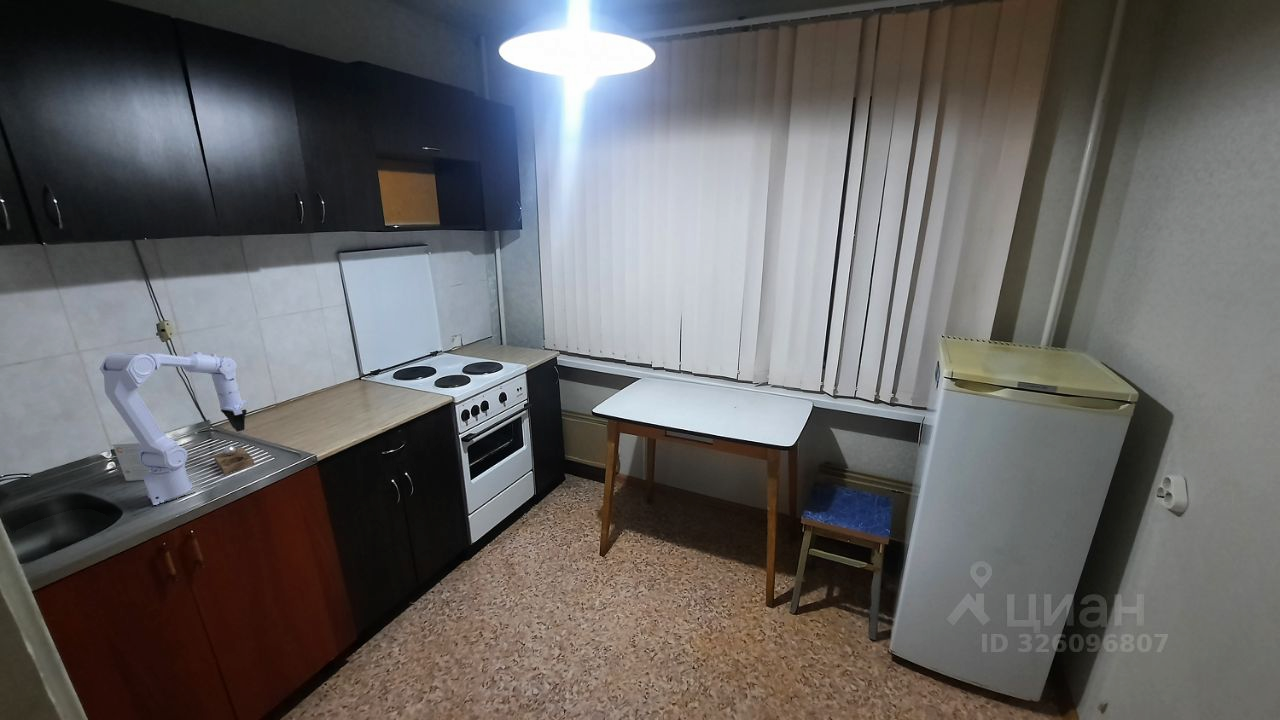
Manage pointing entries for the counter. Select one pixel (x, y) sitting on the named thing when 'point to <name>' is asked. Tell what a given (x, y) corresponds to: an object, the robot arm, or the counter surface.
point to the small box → (130, 458)
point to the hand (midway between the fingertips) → (238, 428)
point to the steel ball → (229, 450)
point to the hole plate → (233, 461)
